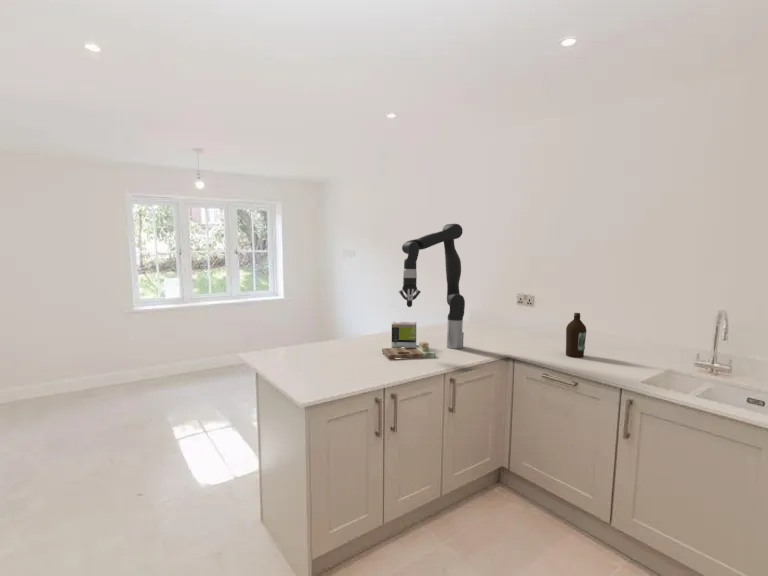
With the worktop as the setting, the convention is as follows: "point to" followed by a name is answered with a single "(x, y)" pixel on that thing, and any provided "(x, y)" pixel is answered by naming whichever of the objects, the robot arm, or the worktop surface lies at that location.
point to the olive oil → (575, 337)
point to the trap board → (407, 352)
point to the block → (423, 346)
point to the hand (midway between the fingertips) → (409, 306)
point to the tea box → (404, 334)
